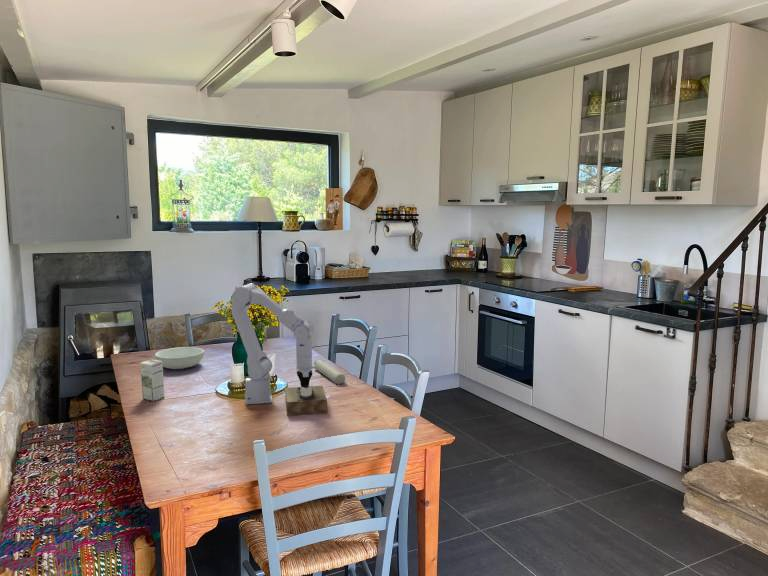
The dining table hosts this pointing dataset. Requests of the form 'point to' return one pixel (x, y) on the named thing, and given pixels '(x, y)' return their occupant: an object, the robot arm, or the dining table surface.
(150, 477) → the dining table surface
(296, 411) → the brown flat block
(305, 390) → the steel peg
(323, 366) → the tube
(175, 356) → the serving bowl
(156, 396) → the syrup box
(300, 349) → the robot arm
